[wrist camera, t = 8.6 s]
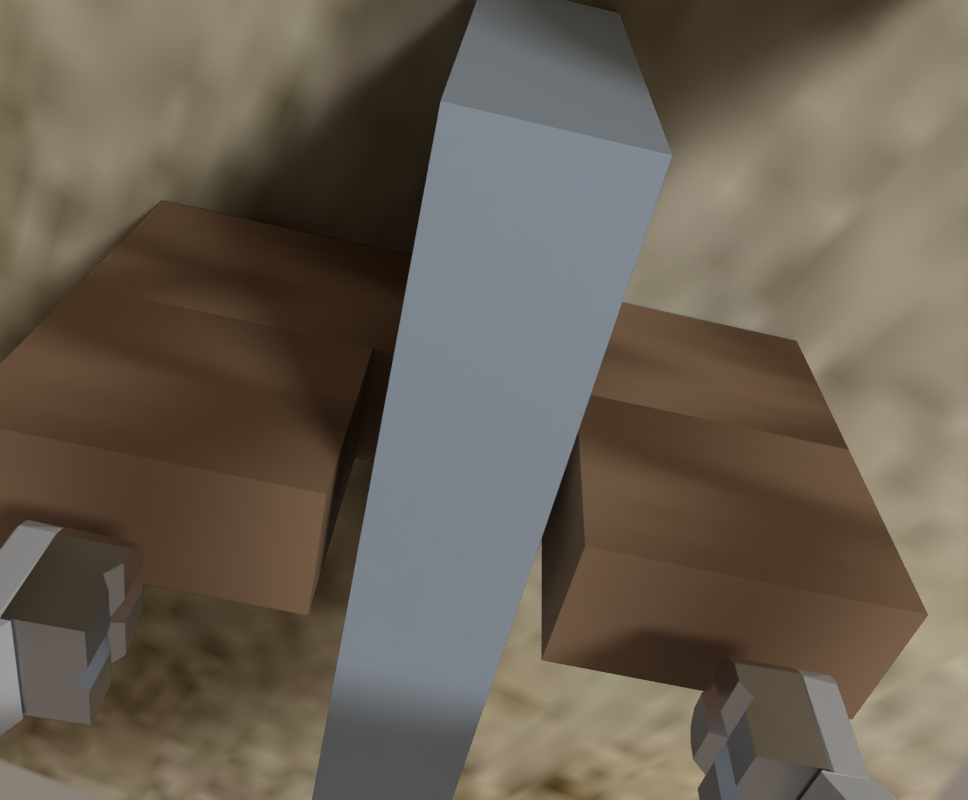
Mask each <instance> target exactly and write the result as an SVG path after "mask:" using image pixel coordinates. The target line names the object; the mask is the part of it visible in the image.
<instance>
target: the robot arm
mask: <svg viewBox="0 0 968 800" xmlns="http://www.w3.org/2000/svg"><path fill="white" fill-rule="evenodd" d="M142 565H143V546H142V545H140V544H139V543H135V542H130V541H126V540H121V539H116V538H112V537H107V536H103V535H98V534H94V533H89V532H84V531H80V530H75V529H71V528H66V527H65V528H64V527H59V526H54V525H50V524H45V523H40V522H36V521H31V520H26V521H25V522H23V523H22V524H20V525H19V526H17V527H16V528H15V529H14V531H13V532H12V533H11V535H10V536H9V537H8V539H7V540H6V542H5V543H4V544H3V546H2V547H1V548H0V736H1V735H2V734H4V733H5V732H6V731H8V730H9V729H10V728H12V727H13V726H14V725H16V724H17V723H18V722H20V721H21V720H22V719H23V715H27V716H34V717H41V718H47V719H54V720H61V721H67V722H74V723H81V724H87V725H91V723H92V721H93V719H94V717H95V715H96V713H97V711H98V709H99V707H100V705H101V703H102V701H103V699H104V697H105V695H106V693H107V691H108V689H109V687H110V685H111V683H112V663H113V662H115V661H117V660H118V659H120V658H121V657H123V656H125V655H126V653H127V651H128V649H129V647H130V645H131V643H132V640H133V638H134V636H135V633H136V630H137V626H138V623H139V620H140V617H141V612H142V606H143V595H144V587H143V585H142V584H141V583H140V582H139V581H138V579H137V578H136V577H137V575H138V573H139V571H140V569H141V567H142ZM713 674H714V679H715V684H716V686H714V687H712V688H710V689H708V690H706V691H704V692H702V694H701V696H700V698H699V700H698V702H697V704H696V706H695V708H694V713H693V718H692V723H691V748H692V755H693V760H694V761H695V762H696V763H697V765H698V766H699V767H700V769H701V770H702V771H703V772H704V774H705V775H706V776H705V777H704V779H703V781H702V783H701V784H700V786H699V788H698V793H699V799H700V800H897V799H896V798H895V797H894V796H893V795H892V793H891V792H890V791H889V790H888V789H887V788H886V787H885V786H884V785H883V784H882V783H881V782H880V781H876V780H871V779H870V778H869V775H868V772H867V769H866V766H865V763H864V761H863V758H862V755H861V752H860V749H859V746H858V743H857V740H856V738H855V735H854V732H853V729H852V726H851V723H850V720H849V717H848V715H847V712H846V709H845V706H844V703H843V700H842V697H841V694H840V692H839V689H838V686H837V683H836V681H835V680H834V679H833V678H832V677H831V675H827V674H821V673H816V672H811V671H805V670H800V669H792V668H791V667H785V666H779V665H774V664H768V663H763V662H757V661H752V660H746V659H741V658H735V657H730V656H726V657H725V658H723V659H722V660H721V661H720V662H719V664H718V665H717V667H716V669H715V670H714V672H713Z"/></svg>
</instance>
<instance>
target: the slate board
mask: <svg viewBox="0 0 968 800" xmlns="http://www.w3.org/2000/svg"><path fill="white" fill-rule="evenodd" d="M671 158H672V153H671V150H670V148H669V145H668V142H667V140H666V137H665V134H664V132H663V129H662V126H661V124H660V121H659V118H658V116H657V113H656V110H655V108H654V105H653V102H652V100H651V97H650V94H649V92H648V89H647V86H646V84H645V81H644V78H643V76H642V73H641V70H640V68H639V65H638V62H637V60H636V57H635V55H634V52H633V49H632V47H631V44H630V41H629V39H628V36H627V33H626V31H625V28H624V25H623V23H622V20H621V17H620V15H619V13H617V12H613V11H608V10H604V9H600V8H596V7H592V6H588V5H584V4H580V3H576V2H572V1H568V0H477V1H476V4H475V7H474V10H473V13H472V15H471V18H470V21H469V24H468V26H467V29H466V32H465V35H464V38H463V40H462V43H461V46H460V49H459V51H458V54H457V57H456V60H455V63H454V65H453V68H452V71H451V74H450V76H449V79H448V82H447V85H446V87H445V90H444V93H443V96H442V99H441V102H440V107H439V113H438V118H437V123H436V129H435V134H434V140H433V145H432V151H431V156H430V161H429V167H428V172H427V178H426V183H425V189H424V194H423V200H422V205H421V210H420V216H419V221H418V227H417V232H416V238H415V243H414V248H413V254H412V259H411V265H410V270H409V276H408V281H407V286H406V292H405V297H404V303H403V308H402V314H401V319H400V324H399V330H398V335H397V341H396V346H395V352H394V357H393V363H392V368H391V373H390V379H389V384H388V390H387V395H386V401H385V406H384V411H383V417H382V422H381V428H380V433H379V439H378V444H377V449H376V455H375V460H374V466H373V471H372V477H371V482H370V487H369V493H368V498H367V504H366V509H365V515H364V520H363V525H362V531H361V536H360V542H359V547H358V553H357V558H356V564H355V569H354V574H353V580H352V585H351V591H350V596H349V602H348V607H347V612H346V618H345V623H344V629H343V634H342V640H341V645H340V650H339V656H338V661H337V667H336V672H335V678H334V683H333V688H332V694H331V699H330V705H329V710H328V716H327V721H326V727H325V732H324V737H323V743H322V748H321V754H320V759H319V765H318V770H317V775H316V781H315V786H314V792H313V797H312V800H452V798H453V796H454V793H455V790H456V787H457V784H458V781H459V778H460V775H461V772H462V769H463V766H464V763H465V760H466V758H467V755H468V752H469V749H470V746H471V743H472V740H473V737H474V734H475V731H476V728H477V725H478V722H479V720H480V717H481V714H482V711H483V708H484V705H485V702H486V699H487V696H488V693H489V690H490V687H491V684H492V682H493V679H494V676H495V673H496V670H497V667H498V664H499V661H500V658H501V655H502V652H503V649H504V646H505V644H506V641H507V638H508V635H509V632H510V629H511V626H512V623H513V620H514V617H515V614H516V611H517V608H518V606H519V603H520V600H521V597H522V594H523V591H524V588H525V585H526V582H527V579H528V576H529V573H530V570H531V568H532V565H533V562H534V559H535V556H536V553H537V550H538V547H539V544H540V541H541V538H542V535H543V532H544V529H545V527H546V524H547V521H548V518H549V515H550V512H551V509H552V506H553V503H554V500H555V497H556V494H557V491H558V489H559V486H560V483H561V480H562V477H563V474H564V471H565V468H566V465H567V462H568V459H569V456H570V453H571V451H572V448H573V445H574V442H575V439H576V436H577V433H578V430H579V427H580V424H581V421H582V418H583V415H584V413H585V410H586V407H587V404H588V401H589V398H590V395H591V392H592V389H593V386H594V383H595V380H596V377H597V375H598V372H599V369H600V366H601V363H602V360H603V357H604V354H605V351H606V348H607V345H608V342H609V339H610V337H611V334H612V331H613V328H614V325H615V322H616V319H617V316H618V313H619V310H620V307H621V304H622V301H623V299H624V296H625V293H626V290H627V287H628V284H629V281H630V278H631V275H632V272H633V269H634V266H635V263H636V260H637V258H638V255H639V252H640V249H641V246H642V243H643V240H644V237H645V234H646V231H647V228H648V225H649V222H650V220H651V217H652V214H653V211H654V208H655V205H656V202H657V199H658V196H659V193H660V190H661V187H662V184H663V182H664V179H665V176H666V173H667V170H668V167H669V164H670V161H671Z"/></svg>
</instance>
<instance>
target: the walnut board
mask: <svg viewBox="0 0 968 800" xmlns="http://www.w3.org/2000/svg"><path fill="white" fill-rule="evenodd" d="M411 259H412V256H411V255H406V254H402V253H397V252H393V251H388V250H384V249H379V248H375V247H370V246H366V245H361V244H357V243H352V242H348V241H343V240H339V239H334V238H330V237H325V236H320V235H316V234H311V233H307V232H302V231H298V230H293V229H289V228H284V227H280V226H275V225H271V224H266V223H262V222H257V221H253V220H248V219H244V218H239V217H235V216H230V215H226V214H221V213H217V212H212V211H208V210H203V209H199V208H194V207H190V206H185V205H181V204H176V203H172V202H167V201H163V200H162V201H161V202H160V203H159V204H158V205H157V206H156V207H155V208H154V209H153V210H152V211H151V212H150V213H149V214H148V215H147V216H146V217H145V218H144V219H143V220H142V221H141V222H140V223H139V224H138V225H137V226H136V227H135V228H134V229H133V230H132V231H131V232H130V233H129V234H128V235H127V236H126V237H125V238H124V239H123V240H122V241H121V242H120V243H119V244H118V245H117V246H116V247H115V248H114V249H113V250H112V251H111V252H110V253H109V254H108V255H107V256H106V257H105V258H104V259H103V260H102V261H101V262H100V263H99V264H98V265H97V267H96V268H95V269H94V270H93V271H92V272H91V273H90V274H89V275H88V276H87V277H86V278H85V279H84V280H83V281H82V282H81V283H80V284H79V285H78V286H77V287H76V288H75V289H74V290H73V291H72V292H71V293H70V294H69V295H68V296H67V297H66V298H65V299H64V300H63V301H62V302H61V303H60V304H59V305H58V306H57V307H56V308H55V309H54V310H53V311H52V312H51V313H50V314H49V315H48V316H47V317H46V318H45V319H44V320H43V321H42V322H41V323H40V324H39V325H38V326H37V327H36V328H35V329H34V330H33V331H32V332H31V333H30V334H29V335H28V336H27V337H26V338H25V339H24V340H23V341H22V342H21V343H20V344H19V345H18V346H17V347H16V348H15V349H14V350H13V351H12V352H11V353H10V354H9V355H8V356H7V357H6V358H5V359H4V361H3V362H2V363H1V364H0V548H1V547H2V546H3V544H4V543H5V542H6V540H7V539H8V537H9V536H10V535H11V533H12V532H13V531H14V529H15V528H16V527H17V526H19V525H20V524H22V523H23V522H25V521H26V520H31V521H36V522H40V523H45V524H50V525H54V526H59V527H64V528H65V527H66V528H71V529H75V530H80V531H84V532H89V533H94V534H98V535H103V536H107V537H112V538H116V539H121V540H126V541H130V542H135V543H139V544H140V545H142V546H143V565H142V567H141V569H140V571H139V573H138V575H137V577H136V578H137V579H138V581H139V582H140V583H141V584H145V585H150V586H156V587H161V588H166V589H171V590H177V591H182V592H187V593H192V594H198V595H203V596H208V597H213V598H219V599H224V600H229V601H234V602H240V603H245V604H250V605H255V606H261V607H266V608H271V609H276V610H282V611H287V612H292V613H297V614H303V615H308V614H309V611H310V608H311V604H312V601H313V597H314V594H315V591H316V587H317V584H318V580H319V577H320V574H321V570H322V567H323V563H324V560H325V557H326V553H327V550H328V546H329V543H330V540H331V536H332V533H333V529H334V526H335V523H336V519H337V516H338V512H339V509H340V506H341V502H342V499H343V495H344V492H345V489H346V485H347V482H348V479H349V475H350V472H351V468H352V465H353V462H354V458H359V459H364V460H369V461H373V462H374V460H375V455H376V449H377V444H378V439H379V433H380V428H381V422H382V417H383V411H384V406H385V401H386V395H387V390H388V384H389V379H390V373H391V368H392V363H393V357H394V352H395V346H396V341H397V335H398V330H399V324H400V319H401V314H402V308H403V303H404V297H405V292H406V286H407V281H408V276H409V270H410V265H411ZM927 616H928V614H927V612H926V610H925V608H924V606H923V603H922V601H921V599H920V597H919V595H918V593H917V591H916V589H915V587H914V585H913V583H912V581H911V578H910V576H909V574H908V572H907V570H906V568H905V566H904V564H903V562H902V560H901V558H900V556H899V553H898V551H897V549H896V547H895V545H894V543H893V541H892V539H891V537H890V535H889V533H888V531H887V528H886V526H885V524H884V522H883V520H882V518H881V516H880V514H879V512H878V510H877V508H876V505H875V503H874V501H873V499H872V497H871V495H870V493H869V491H868V489H867V487H866V485H865V483H864V480H863V478H862V476H861V474H860V472H859V470H858V468H857V466H856V464H855V462H854V460H853V458H852V455H851V453H850V451H849V449H848V447H847V445H846V443H845V441H844V439H843V437H842V435H841V432H840V430H839V428H838V426H837V424H836V422H835V420H834V418H833V416H832V414H831V412H830V410H829V407H828V405H827V403H826V401H825V399H824V397H823V395H822V393H821V391H820V389H819V387H818V385H817V382H816V380H815V378H814V376H813V374H812V372H811V370H810V368H809V366H808V364H807V362H806V359H805V357H804V355H803V353H802V351H801V349H800V347H799V345H798V343H797V341H794V340H789V339H785V338H780V337H776V336H771V335H767V334H762V333H758V332H753V331H749V330H744V329H740V328H735V327H731V326H726V325H722V324H717V323H713V322H708V321H704V320H699V319H695V318H690V317H686V316H681V315H677V314H672V313H668V312H663V311H659V310H654V309H650V308H645V307H641V306H636V305H632V304H627V303H623V302H622V304H621V307H620V310H619V313H618V316H617V319H616V322H615V325H614V328H613V331H612V334H611V337H610V339H609V342H608V345H607V348H606V351H605V354H604V357H603V360H602V363H601V366H600V369H599V372H598V375H597V377H596V380H595V383H594V386H593V389H592V392H591V395H590V398H589V401H588V404H587V407H586V410H585V413H584V415H583V418H582V421H581V424H580V427H579V430H578V433H577V436H576V439H575V442H574V445H573V448H572V451H571V453H570V456H569V459H568V462H567V465H566V468H565V471H564V474H563V477H562V480H561V483H560V486H559V489H558V491H557V494H556V497H555V500H554V503H553V506H552V509H551V512H550V515H549V518H548V521H547V524H546V527H545V529H544V532H543V535H542V660H544V661H549V662H554V663H559V664H565V665H570V666H575V667H580V668H586V669H591V670H596V671H601V672H607V673H612V674H617V675H622V676H628V677H633V678H638V679H643V680H649V681H654V682H659V683H664V684H670V685H675V686H680V687H685V688H691V689H696V690H701V691H706V690H708V689H710V688H712V687H714V686H716V684H715V679H714V674H713V672H714V670H715V669H716V667H717V665H718V664H719V662H720V661H721V660H722V659H723V658H725V657H726V656H730V657H735V658H741V659H746V660H752V661H757V662H763V663H768V664H774V665H779V666H785V667H791V668H792V669H800V670H805V671H811V672H816V673H821V674H827V675H831V677H832V678H833V679H834V680H835V681H836V683H837V686H838V689H839V692H840V694H841V697H842V700H843V703H844V706H845V709H846V712H847V715H848V717H849V719H853V717H854V716H855V715H856V713H857V712H858V711H859V709H860V708H861V706H862V705H863V704H864V702H865V701H866V700H867V698H868V697H869V695H870V694H871V693H872V691H873V690H874V689H875V687H876V686H877V684H878V683H879V682H880V680H881V679H882V678H883V676H884V675H885V673H886V672H887V671H888V669H889V668H890V667H891V665H892V664H893V662H894V661H895V660H896V658H897V657H898V656H899V654H900V653H901V651H902V650H903V649H904V647H905V646H906V645H907V643H908V642H909V640H910V639H911V638H912V636H913V635H914V634H915V632H916V631H917V629H918V628H919V627H920V625H921V624H922V623H923V621H924V620H925V618H926V617H927Z"/></svg>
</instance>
